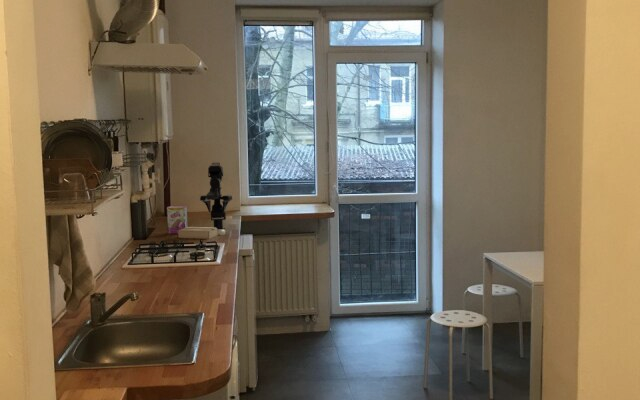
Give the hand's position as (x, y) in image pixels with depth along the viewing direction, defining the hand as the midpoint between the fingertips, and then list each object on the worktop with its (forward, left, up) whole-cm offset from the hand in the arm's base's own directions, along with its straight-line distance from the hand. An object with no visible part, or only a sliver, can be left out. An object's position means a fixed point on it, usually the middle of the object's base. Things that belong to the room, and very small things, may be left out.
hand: (216, 212), depth 403 cm
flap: (+9, -7, -9) cm, 14 cm away
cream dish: (+2, +2, -13) cm, 13 cm away
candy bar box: (+3, -25, -13) cm, 29 cm away
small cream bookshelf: (+12, -7, -13) cm, 19 cm away
